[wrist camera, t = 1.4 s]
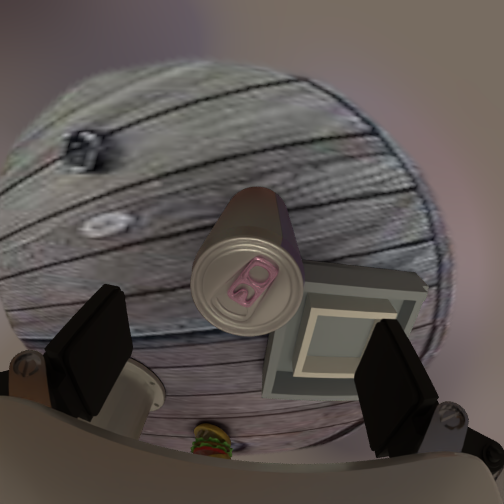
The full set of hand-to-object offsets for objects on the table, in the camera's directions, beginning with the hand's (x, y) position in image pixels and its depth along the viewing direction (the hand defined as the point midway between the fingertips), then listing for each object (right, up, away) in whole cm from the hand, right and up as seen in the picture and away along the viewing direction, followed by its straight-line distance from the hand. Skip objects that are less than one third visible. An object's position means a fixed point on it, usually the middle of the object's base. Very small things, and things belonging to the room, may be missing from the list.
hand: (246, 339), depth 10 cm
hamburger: (-6, -27, +32) cm, 42 cm away
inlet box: (+10, -6, +22) cm, 25 cm away
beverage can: (+1, +7, +18) cm, 19 cm away
